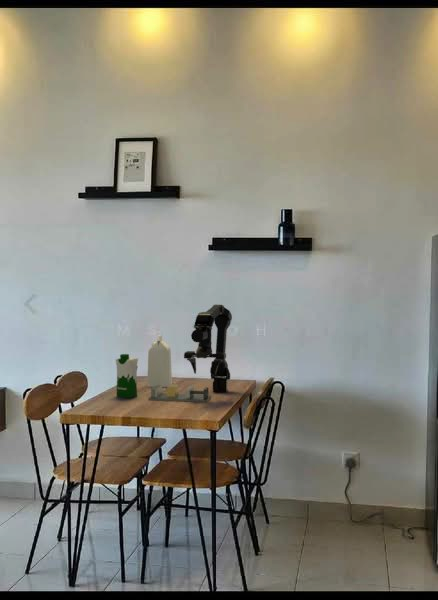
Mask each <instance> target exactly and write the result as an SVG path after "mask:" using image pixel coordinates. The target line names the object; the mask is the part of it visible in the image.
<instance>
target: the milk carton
mask: <svg viewBox="0 0 438 600" xmlns="http://www.w3.org/2000/svg"><path fill="white" fill-rule="evenodd" d="M119 356H120V358H118V357H117V358H116V359H115V363H116V364H115V365H116V398H122V399H131V398H135V397H137V396H138V391H137V390H138V387H137V386H138V385H137V381H138V380H137V379H138V378H137V375H138V374H137V373H138V372H137V371H138V367H137V366H138V362H139V358H137V357H136V358H135V357H130V354H128V353H123V354H122V353H121V354H120V355H119Z"/></svg>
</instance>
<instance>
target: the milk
mask: <svg viewBox="0 0 438 600" xmlns="http://www.w3.org/2000/svg"><path fill="white" fill-rule="evenodd" d="M171 352H172V351H171V347H170V346H169V345H168V343H166V342H165V341H164V340H163V334H158V335H157V341H154V342H153V343H152V344H151V347H150V348H149V349H148V353H147V354H148V356H147V376H146V377H147V380H146V382H147V383H146V387H148V388H149V387H150V388H153V387H155V386H156V385H161V386H162V388H168V386H169V385H170V384H173V380H172V353H171Z"/></svg>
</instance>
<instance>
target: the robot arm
mask: <svg viewBox="0 0 438 600" xmlns="http://www.w3.org/2000/svg"><path fill="white" fill-rule="evenodd" d="M232 315H233V314H232V313H231V311H230V309H227V308H226V307H225V305H223V304H213V305H212V306H211V307H210V308H209V309H208V310H207V311H201V312H199V313H197V315H196V318H195V320H194V321H195V322H194V325H193V329H194V330H193V331H192V333H191V335H190V337H191V339H192V341H193V342H195V343H198V346H197V348H196V350H195V351H194V350H187V351H185V352H184V353H183V358H184V359H186V361H188V362H189V363H190V365H191V367H192V369H193V373H194V374H195V375H197V359H207V358H214V360H213V361H211V366H210V369H209V370H210V371H209V373H210V379H211V380H213V381H212V393H213V392H214V393H227V392H228V391H229V389H228V381H229V380H231V372H230V369H229V368H228V367H229V365H228V362H227V360H226V358H227V352H226V349H227V348H226V345H227V333H228V328H229V327H230V326H231V323H232V319H233V316H232ZM214 325H215V327H216V329H217V330H216V343H215V344H216V346H215V347H216V348H215V353H213V349H212V342H213V341H212V330H213V326H214Z"/></svg>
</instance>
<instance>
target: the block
mask: <svg viewBox="0 0 438 600" xmlns="http://www.w3.org/2000/svg"><path fill="white" fill-rule="evenodd" d="M178 394H179V384H178V383H172V384H170V385H169V386H168V387H167V397H168V398H175V397H176V396H178Z"/></svg>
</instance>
